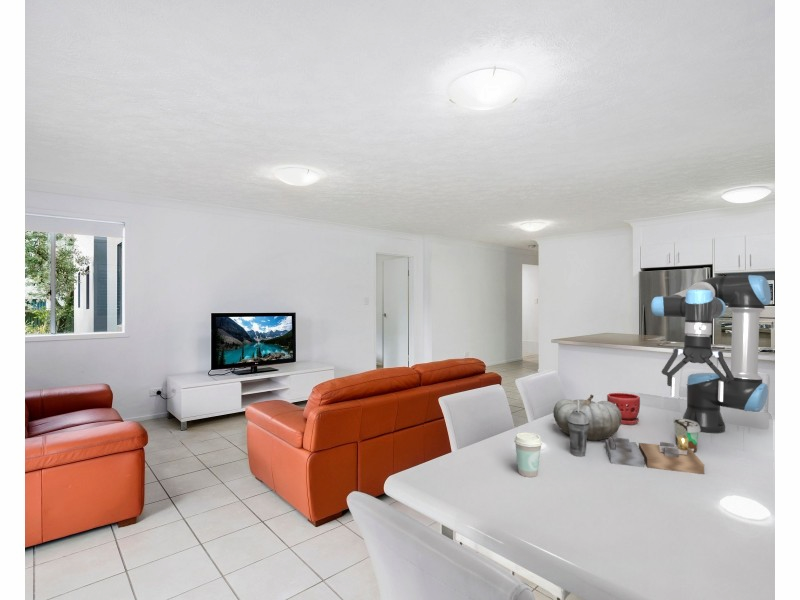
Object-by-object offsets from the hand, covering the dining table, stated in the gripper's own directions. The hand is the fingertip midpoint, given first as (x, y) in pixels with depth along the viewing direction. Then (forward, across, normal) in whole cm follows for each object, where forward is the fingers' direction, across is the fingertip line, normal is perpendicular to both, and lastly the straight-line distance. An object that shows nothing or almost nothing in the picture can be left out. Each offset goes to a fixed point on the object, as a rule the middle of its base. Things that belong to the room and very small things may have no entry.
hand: (695, 398), depth 147 cm
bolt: (+19, -6, -1) cm, 20 cm away
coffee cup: (+25, -50, -31) cm, 63 cm away
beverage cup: (+23, -36, -6) cm, 43 cm away
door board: (+22, -12, -1) cm, 26 cm away
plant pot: (+21, -19, +44) cm, 53 cm away
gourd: (+22, -34, +17) cm, 44 cm away
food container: (+22, +1, +16) cm, 27 cm away
